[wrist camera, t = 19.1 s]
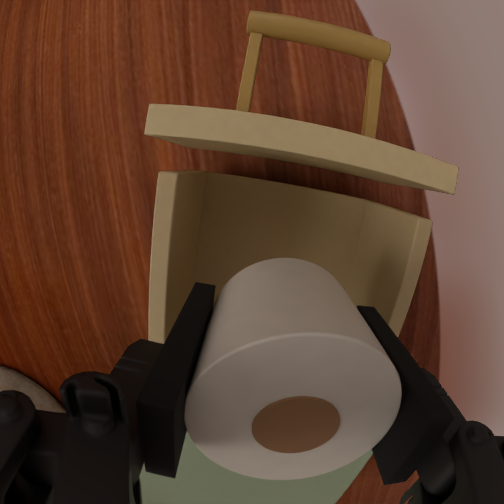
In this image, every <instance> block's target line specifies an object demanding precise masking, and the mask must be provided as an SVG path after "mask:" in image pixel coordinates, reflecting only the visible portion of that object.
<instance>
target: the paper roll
mask: <svg viewBox="0 0 504 504" xmlns="http://www.w3.org/2000/svg"><path fill="white" fill-rule="evenodd" d="M401 397H402V389H401V382H400V378H399V375H398V372H397V370H396V368H395V366H394V365H393V363H392V362H391V360H390V358H389V357H388V355H387V354H386V352H385V350H384V349H383V347H382V346H381V344H380V343H379V341H378V340H377V338H376V337H375V335H374V333H373V332H372V330H371V329H370V327H369V326H368V324H367V323H366V321H365V320H364V318H363V317H362V315H361V314H360V312H359V311H358V309H357V308H356V306H355V305H354V303H353V302H352V300H351V299H350V297H349V296H348V294H347V293H346V292H345V290H344V289H343V287H342V286H341V284H340V283H339V282H338V281H337V279H336V278H335V277H334V276H332V275H331V274H330V273H329V272H328V271H326V270H325V269H323V268H322V267H320V266H318V265H316V264H314V263H311V262H308V261H305V260H300V259H295V258H274V259H269V260H264V261H261V262H258V263H255V264H253V265H250V266H248V267H246V268H245V269H243V270H241V271H240V272H238V273H237V274H236V275H235V276H233V277H232V278H231V279H230V280H229V281H228V282H227V283H226V284H225V286H224V287H223V288H222V290H221V291H220V293H219V295H218V297H217V299H216V301H215V304H214V307H213V310H212V313H211V317H210V320H209V323H208V326H207V329H206V333H205V336H204V339H203V342H202V346H201V349H200V352H199V356H198V359H197V362H196V365H195V369H194V372H193V375H192V379H191V382H190V385H189V389H188V392H187V396H186V399H185V414H184V420H185V425H186V428H187V431H188V434H189V436H190V437H191V439H192V441H193V442H194V444H195V445H196V446H197V448H198V449H199V450H200V451H201V452H202V453H203V454H204V455H205V456H207V457H208V458H209V459H211V460H212V461H213V462H215V463H217V464H218V465H220V466H222V467H224V468H226V469H228V470H230V471H233V472H236V473H239V474H242V475H245V476H249V477H254V478H260V479H268V480H293V479H302V478H308V477H313V476H318V475H321V474H325V473H328V472H331V471H334V470H336V469H339V468H341V467H343V466H345V465H347V464H349V463H351V462H353V461H355V460H356V459H358V458H360V457H361V456H363V455H364V454H365V453H367V452H368V451H369V450H371V449H372V448H373V447H374V446H375V445H376V444H377V443H378V442H379V441H380V440H381V439H382V438H383V437H384V436H385V435H386V433H387V432H388V431H389V429H390V428H391V426H392V424H393V423H394V421H395V419H396V417H397V415H398V411H399V408H400V405H401Z"/></svg>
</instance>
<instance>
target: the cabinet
mask: <svg viewBox="0 0 504 504" xmlns="http://www.w3.org/2000/svg"><path fill="white" fill-rule="evenodd" d="M372 454H373V451H372V449H371V450H369V451H368V452H367V453H365V454H364V455H363V456H361V457H360V458H358V459H356V460H355V461H353V462H351V463H349V464H347V465H345V466H343V467H341V468H339V469H336V470H334V471H331V472H328V473H325V474H321V475H318V476H313V477H308V478H302V479H293V480H268V479H260V478H254V477H249V476H245V475H242V474H239V473H236V472H233V471H230V470H228V469H226V468H224V467H222V466H220V465H218V464H217V463H215V462H213V461H212V460H211V459H209V458H208V457H207V456H205V455H204V454H203V453H202V452H201V451H200V450H199V449H198V448H197V446H196V445H195V444H194V442H193V441H192V439H191V437H190V436H189V434H188V431H187V432H186V436H185V440H184V444H183V448H182V452H181V456H180V461H179V465H178V469H177V473H176V477H175V479H174V478H170V477H165V476H161V475H157V474H153V473H149V472H146V471H145V465H144V464H143V467H142V470H141V473H140V476H139V478H140V482H141V492H142V504H335V503H336V502H337V501H338V499H339V498H340V497H341V496H342V494H343V493H344V492H345V491H346V490H347V488H348V487H349V486H350V484H351V483H352V482H353V481H354V479H355V478H356V477H357V475H358V474H359V473H360V471H361V470H362V468H363V467H364V466H365V464H366V463H367V461H368V460H369V459H370V457H371V456H372Z"/></svg>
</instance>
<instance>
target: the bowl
mask: <svg viewBox="0 0 504 504" xmlns="http://www.w3.org/2000/svg"><path fill="white" fill-rule="evenodd" d="M4 390H16V391H20V392H23V393H24V394H26V395H27V396H29V397H30V398H31V400H32V402H33V403H34V405H35V408H36V409H37V410H44V411H51V412H59V413H66V410H65V409H64V408H63V406H62V405H61V404H60V403H59V402H58V401H57V400H56V399H55V398H54V397H53V396H51V395H50V394H49V393H48V392H47V391H46V390H44V389H43V388H42V387H41V386H39V385H38V384H37V383H35V382H34V381H32V380H31V379H29V378H27V377H26V376H24V375H22V374H21V373H19V372H17V371H15V370H12V369H9V368H7V367H4V366H0V392H1V391H4Z"/></svg>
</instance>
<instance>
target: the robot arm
mask: <svg viewBox="0 0 504 504" xmlns="http://www.w3.org/2000/svg"><path fill="white" fill-rule="evenodd" d="M215 287H216V285H211V284H205V283H199V282H196V283H195V285H194V286H193V288H192V290H191V292H190V294H189V296H188V298H187V300H186V302H185V304H184V306H183V307H182V309H181V311H180V313H179V315H178V317H177V319H176V321H175V323H174V325H173V327H172V329H171V331H170V333H169V335H168V337H167V339H166V341H165V343H164V344H162V343H158V342H153V341H148V340H144V339H140V340H138V341H136V342H135V343H133V344H131V345H130V346H128V348H127V349H126V351H125V352H124V354H123V355H122V357H121V359H120V360H119V361H118V363H117V364H116V367H114V369H113V370H112V372H111V373H110V375H108V374H104V373H100V372H81V373H78V374H74V375H72V376H71V377H69V378H68V379H66V380H65V381H64V382H63V384H62V385H61V387H60V388H59V390H60V393H61V397H62V400H63V403H64V407H65V410H66V413H59V412H51V411H44V410H37V409H36V408H35V405H34V403H33V402H32V400H31V398H30V397H29V396H27V395H26V394H24V393H23V392H20V391H16V390H4V391H1V392H0V504H142V492H141V482H140V478H139V476H140V473H141V470H142V467H143V464H144V465H145V471H146V472H149V473H153V474H157V475H161V476H165V477H170V478H174V479H175V477H176V473H177V469H178V465H179V461H180V456H181V452H182V448H183V444H184V440H185V436H186V432H187V428H186V425H185V420H184V414H185V399H186V396H187V392H188V389H189V385H190V382H191V379H192V375H193V372H194V369H195V365H196V362H197V359H198V356H199V352H200V349H201V346H202V342H203V339H204V336H205V333H206V329H207V326H208V323H209V320H210V317H211V313H212V310H213V303H214V295H215ZM357 309H358V311H359V312H360V314H361V315H362V317H363V318H364V320H365V321H366V323H367V324H368V326H369V327H370V329H371V330H372V332H373V333H374V335H375V337H376V338H377V340H378V341H379V343H380V344H381V346H382V347H383V349H384V350H385V352H386V354H387V355H388V357H389V358H390V360H391V362H392V363H393V365H394V366H395V368H396V370H397V372H398V375H399V378H400V382H401V389H402V397H401V405H400V408H399V411H398V415H397V417H396V419H395V421H394V423H393V424H392V426H391V428H390V429H389V431H388V432H387V433H386V435H385V436H384V437H383V438H382V439H381V440H380V441H379V442H378V443H377V444H376V445H375V446H374V447H373V448H372V451H373V454H374V457H375V460H376V463H377V466H378V468H379V471H380V474H381V477H382V480H383V483H384V485H387V484H393V483H399V482H404V481H406V480H407V479H408V478H409V477H410V476H411V475H412V474H413V472H414V471H415V470H417V473H418V475H419V477H420V478H419V479H418V480H417V481H416V482H415V483H414V484H413V485H412V486H411V487H410V489H409V490H408V491H407V492H406V493H405V494H404V495H403V496H402V498H401V501H400V504H403V503H404V502H406V501H407V500H408V499H409V498H410V497H411V496H412V495H413V497H412V498H411V499H410V500H409V502H408V504H504V436H494V434H493V433H492V431H491V430H490V429H489V428H488V427H487V426H485V425H484V424H482V423H480V422H477V421H466V420H465V418H464V417H463V415H462V414H461V412H460V411H459V409H458V408H457V407H456V405H455V404H454V403H453V401H452V400H451V398H450V397H449V396H447V393H446V392H445V390H444V389H443V388H441V387H442V386H441V384H440V383H439V382H438V380H437V379H436V378H435V376H433V375H432V374H431V373H430V372H428V371H427V370H426V369H424V368H420V367H419V366H418V364H417V363H416V362H415V360H414V359H413V357H412V356H411V355H410V353H409V352H408V351H407V349H406V348H405V347H404V345H403V344H402V343H401V341H400V340H399V339H398V337H397V336H396V335H395V333H394V332H393V331H392V329H391V328H390V327H389V325H388V324H387V323H386V322H385V320H384V319H383V318H382V316H381V315H380V314H379V313H378V311H377V310H376V309H375V307H369V306H360V305H358V306H357Z"/></svg>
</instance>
